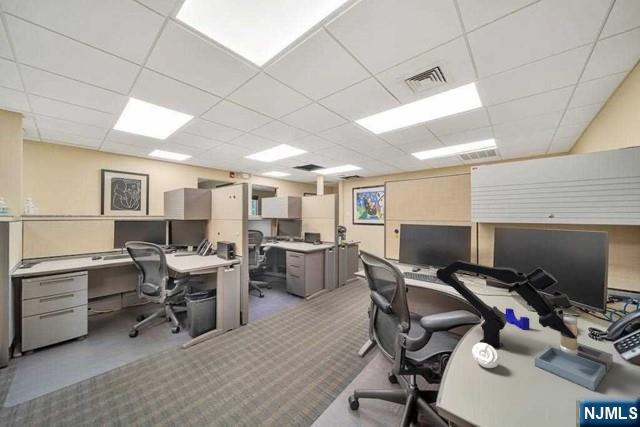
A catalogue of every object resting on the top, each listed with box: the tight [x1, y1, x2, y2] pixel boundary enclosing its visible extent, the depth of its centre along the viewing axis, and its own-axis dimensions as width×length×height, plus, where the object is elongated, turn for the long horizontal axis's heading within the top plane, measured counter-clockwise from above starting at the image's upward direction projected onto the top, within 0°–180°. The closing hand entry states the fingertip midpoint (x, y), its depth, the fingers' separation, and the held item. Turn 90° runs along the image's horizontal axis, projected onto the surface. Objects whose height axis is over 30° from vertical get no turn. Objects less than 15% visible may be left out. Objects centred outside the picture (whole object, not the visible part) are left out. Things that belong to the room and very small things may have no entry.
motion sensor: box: [471, 342, 500, 369], centre depth 82 cm, size 8×8×8 cm
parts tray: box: [534, 345, 607, 392], centre depth 80 cm, size 16×14×3 cm
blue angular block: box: [503, 307, 530, 331], centre depth 115 cm, size 12×4×6 cm, turn 173°
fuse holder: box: [577, 342, 614, 373], centre depth 86 cm, size 10×10×4 cm
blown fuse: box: [559, 313, 578, 356], centre depth 81 cm, size 4×4×13 cm
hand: (574, 335), depth 80 cm, fingers closed on blown fuse, 4 cm apart
